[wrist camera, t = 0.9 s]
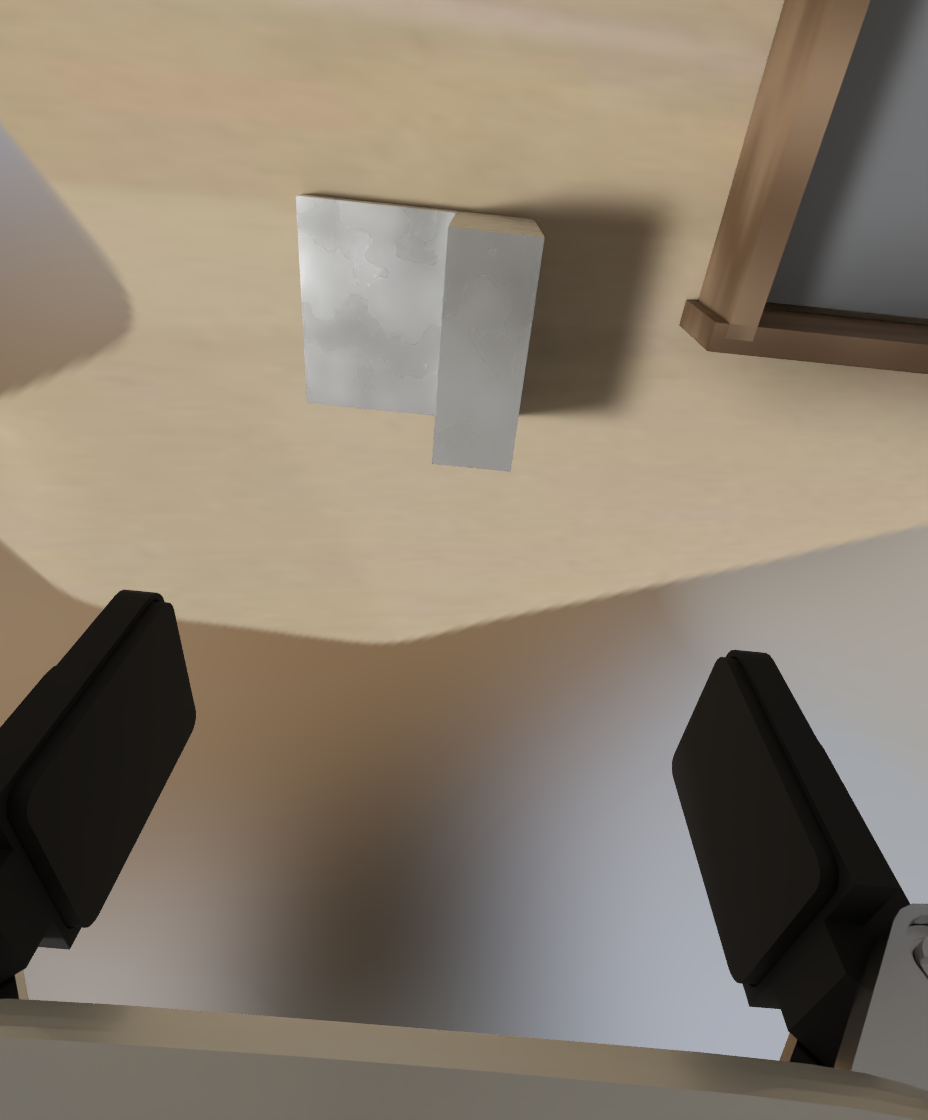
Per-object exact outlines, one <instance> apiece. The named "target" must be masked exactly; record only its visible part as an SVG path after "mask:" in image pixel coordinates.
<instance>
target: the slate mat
mask: <svg viewBox="0 0 928 1120" xmlns="http://www.w3.org/2000/svg"><path fill="white" fill-rule="evenodd" d="M766 302H771V303H781V304H790V305H799V306H809V307H818V308H828V309H837V310H847V311H856V312H866V313H875V314H885V315H894V316H904V317H913V318H922V319H928V0H870V3H869V6H868V9H867V12H866V15H865V18H864V21H863V23H862V26H861V29H860V32H859V35H858V38H857V41H856V44H855V47H854V49H853V52H852V55H851V58H850V61H849V64H848V67H847V70H846V73H845V75H844V78H843V81H842V84H841V87H840V90H839V93H838V96H837V99H836V101H835V104H834V107H833V110H832V113H831V116H830V119H829V122H828V125H827V127H826V130H825V133H824V136H823V139H822V142H821V145H820V148H819V151H818V154H817V156H816V159H815V162H814V165H813V168H812V171H811V174H810V177H809V180H808V182H807V185H806V188H805V191H804V194H803V197H802V200H801V203H800V206H799V208H798V211H797V214H796V217H795V220H794V223H793V226H792V229H791V232H790V234H789V237H788V240H787V243H786V246H785V249H784V252H783V255H782V258H781V260H780V263H779V266H778V269H777V272H776V275H775V278H774V281H773V284H772V286H771V289H770V292H769V295H768V298H767V301H766Z"/></svg>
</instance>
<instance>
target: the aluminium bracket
mask: <svg viewBox="0 0 928 1120" xmlns="http://www.w3.org/2000/svg"><path fill="white" fill-rule="evenodd" d="M296 208H297V226H298V244H299V263H300V281H301V300H302V318H303V337H304V355H305V373H306V392H307V403H313V404H323V405H333V406H343V407H353V408H363V409H373V410H383V411H393V412H403V413H413V414H423V415H433V416H435V428H434V443H433V457H432V464H439V465H449V466H459V467H469V468H479V469H489V470H499V471H510V470H511V464H512V457H513V450H514V443H515V436H516V429H517V423H518V416H519V409H520V402H521V395H522V389H523V382H524V375H525V368H526V361H527V355H528V348H529V341H530V334H531V327H532V321H533V314H534V307H535V300H536V293H537V286H538V280H539V273H540V266H541V259H542V252H543V246H544V239H545V237H544V235H543V233H542V232H541V230H540V229H539V227H538V225H537V224H536V222H535V221H534V219H529V218H520V217H510V216H501V215H492V214H482V213H473V212H464V211H455V210H445V209H436V208H427V207H417V206H408V205H399V204H390V203H380V202H371V201H362V200H353V199H343V198H334V197H325V196H315V195H306V194H300V195H296Z"/></svg>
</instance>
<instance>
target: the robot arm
mask: <svg viewBox="0 0 928 1120" xmlns="http://www.w3.org/2000/svg"><path fill="white" fill-rule="evenodd" d="M195 719H196V710H195V705H194V701H193V696H192V692H191V687H190V682H189V677H188V673H187V668H186V664H185V659H184V654H183V650H182V645H181V640H180V636H179V631H178V627H177V622H176V617H175V612H174V609H173V606H172V605H171V603H166V602H164V599H163V597H162V596H161V595H160V594H158V593H153V592H142V591H132V590H122V591H120V592H119V593H117V594H116V595H115V596H114V598H113V599H112V600H111V601H110V602H109V604H108V605H107V606H106V607H105V608H104V610H103V611H102V612H101V613H100V614H99V615H98V617H97V618H96V619H95V620H94V621H93V623H92V624H91V625H90V626H89V627H88V629H87V630H86V631H85V632H84V633H83V635H82V636H81V637H80V638H79V639H78V641H77V642H76V643H75V644H74V645H73V646H72V648H71V649H70V650H69V651H68V653H67V654H66V655H65V656H64V657H63V658H62V660H61V661H60V662H59V663H58V664H57V665H56V666H54V667H53V668H52V669H51V670H49V671H48V672H47V673H46V674H45V675H44V676H43V678H42V679H41V680H40V681H39V682H38V684H37V685H36V686H35V687H34V688H33V689H32V691H31V692H30V693H29V694H28V695H27V697H26V698H25V699H24V700H23V701H22V702H21V704H20V705H19V706H18V707H17V708H16V710H15V711H14V712H13V713H12V714H11V715H10V717H9V718H8V719H7V720H6V721H5V723H4V724H3V725H2V726H1V727H0V1120H928V904H910V903H909V901H908V899H907V898H906V896H905V894H904V892H903V890H902V888H901V887H900V885H899V883H898V881H897V880H896V878H895V876H894V874H893V872H892V871H891V869H890V867H889V865H888V864H887V861H886V860H885V858H884V856H883V854H882V853H881V851H880V849H879V847H878V845H877V844H876V842H875V840H874V838H873V836H872V835H871V833H870V831H869V829H868V827H867V826H866V824H865V822H864V820H863V818H862V817H861V815H860V813H859V811H858V809H857V808H856V806H855V804H854V802H853V801H852V799H851V797H850V795H849V793H848V791H847V790H846V788H845V786H844V784H843V782H842V781H841V779H840V777H839V775H838V774H837V772H836V770H835V768H834V766H833V764H832V763H831V761H830V759H829V757H828V755H827V754H826V752H825V750H824V748H823V747H822V745H821V744H820V743H819V741H818V740H817V738H816V736H815V735H814V733H813V731H812V729H811V727H810V725H809V724H808V722H807V720H806V718H805V716H804V715H803V713H802V711H801V709H800V707H799V706H798V704H797V702H796V700H795V699H794V697H793V695H792V693H791V691H790V689H789V688H788V686H787V684H786V682H785V680H784V679H783V677H782V675H781V673H780V671H779V670H778V668H777V666H776V664H775V662H774V660H773V659H772V658H771V656H770V655H768V654H767V653H761V652H750V651H740V650H731V651H730V652H729V653H728V654H727V656H726V657H720V658H719V659H717V661H716V663H715V665H714V667H713V669H712V672H711V674H710V676H709V678H708V680H707V683H706V685H705V687H704V689H703V691H702V694H701V696H700V698H699V701H698V703H697V705H696V707H695V709H694V711H693V714H692V716H691V718H690V721H689V723H688V725H687V727H686V729H685V732H684V734H683V736H682V738H681V740H680V743H679V745H678V747H677V749H676V752H675V754H674V757H673V761H672V774H673V778H674V782H675V785H676V788H677V792H678V796H679V799H680V802H681V806H682V809H683V813H684V816H685V819H686V823H687V826H688V829H689V833H690V837H691V840H692V844H693V847H694V850H695V854H696V857H697V861H698V864H699V867H700V871H701V874H702V878H703V881H704V885H705V888H706V891H707V895H708V898H709V902H710V905H711V909H712V912H713V916H714V919H715V923H716V926H717V930H718V933H719V936H720V940H721V943H722V946H723V950H724V954H725V957H726V960H727V964H728V967H729V970H730V973H731V975H732V977H733V978H734V980H735V981H736V982H737V983H743V986H744V990H745V993H746V996H747V999H748V1003H749V1006H750V1007H762V1008H775V1009H781V1011H782V1014H783V1017H784V1020H785V1023H786V1026H787V1029H788V1031H789V1032H790V1034H789V1036H788V1039H787V1041H786V1044H785V1047H784V1049H783V1052H782V1055H781V1058H780V1060H779V1061H776V1060H766V1059H757V1058H747V1057H738V1056H729V1055H720V1054H710V1053H701V1052H690V1051H678V1050H667V1049H654V1048H643V1047H632V1046H621V1045H609V1044H598V1043H586V1042H574V1041H562V1040H551V1039H539V1038H528V1037H517V1036H505V1035H493V1034H481V1033H468V1032H455V1031H444V1030H432V1029H420V1028H408V1027H395V1026H383V1025H371V1024H359V1023H346V1022H333V1021H322V1020H309V1019H295V1018H283V1017H270V1016H257V1015H243V1014H230V1013H218V1012H205V1011H204V1012H203V1011H192V1010H179V1009H165V1008H152V1007H140V1006H127V1005H109V1004H92V1003H74V1002H57V1001H40V1000H29V998H28V993H27V987H26V982H25V976H24V971H23V970H24V969H25V968H26V967H27V965H28V964H29V962H30V960H31V958H32V956H33V955H34V953H35V951H36V949H37V948H38V947H47V948H60V949H70V948H71V946H72V944H73V942H74V940H75V938H76V937H77V934H78V933H79V931H80V929H81V927H83V928H86V927H89V926H90V925H91V924H92V923H93V922H94V921H95V920H96V918H97V916H98V915H99V913H100V911H101V909H102V907H103V905H104V903H105V901H106V899H107V897H108V895H109V893H110V891H111V889H112V887H113V886H114V884H115V882H116V880H117V878H118V876H119V874H120V872H121V870H122V868H123V866H124V864H125V862H126V860H127V858H128V856H129V854H130V852H131V850H132V848H133V846H134V844H135V843H136V841H137V839H138V837H139V834H140V833H141V831H142V829H143V827H144V825H145V823H146V821H147V819H148V817H149V815H150V813H151V811H152V809H153V807H154V805H155V803H156V802H157V799H158V798H159V796H160V794H161V792H162V790H163V788H164V786H165V784H166V782H167V780H168V778H169V776H170V774H171V772H172V770H173V768H174V766H175V764H176V762H177V760H178V758H179V757H180V755H181V752H182V751H183V749H184V747H185V745H186V743H187V741H188V739H189V737H190V735H191V733H192V731H193V728H194V725H195Z"/></svg>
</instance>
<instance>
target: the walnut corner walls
mask: <svg viewBox="0 0 928 1120" xmlns="http://www.w3.org/2000/svg"><path fill="white" fill-rule="evenodd" d="M869 3H870V0H785V1H784V5H783V8H782V12H781V15H780V19H779V22H778V26H777V29H776V33H775V36H774V40H773V43H772V47H771V50H770V54H769V57H768V61H767V64H766V67H765V71H764V74H763V78H762V81H761V85H760V88H759V92H758V95H757V99H756V102H755V106H754V109H753V113H752V116H751V120H750V123H749V127H748V130H747V134H746V137H745V141H744V144H743V148H742V151H741V154H740V158H739V161H738V165H737V168H736V172H735V175H734V179H733V182H732V186H731V189H730V193H729V196H728V200H727V203H726V207H725V210H724V214H723V217H722V221H721V224H720V228H719V231H718V235H717V238H716V242H715V245H714V248H713V252H712V255H711V259H710V262H709V266H708V269H707V273H706V276H705V280H704V283H703V287H702V290H701V294H700V297H699V301H692V300H686V303H685V307H684V310H683V314H682V318H681V321H680V326H681V327H682V328H683V329H684V330H685V331H686V332H687V333H688V334H689V335H691V336H692V337H693V338H694V339H695V340H696V341H697V342H698V343H699V344H700V345H701V346H702V347H703V348H705V349H706V350H707V351H711V352H720V353H730V354H740V355H749V356H759V357H769V358H778V359H788V360H798V361H807V362H817V363H826V364H836V365H846V366H855V367H865V368H875V369H884V370H894V371H904V372H913V373H923V374H928V325H919V324H910V323H900V322H891V321H881V320H872V319H862V318H853V317H844V316H834V315H825V314H815V313H806V312H796V311H787V310H777V309H768V308H764V307H765V304H766V301H767V298H768V295H769V292H770V289H771V286H772V284H773V281H774V278H775V275H776V272H777V269H778V266H779V263H780V260H781V258H782V255H783V252H784V249H785V246H786V243H787V240H788V237H789V234H790V232H791V229H792V226H793V223H794V220H795V217H796V214H797V211H798V208H799V206H800V203H801V200H802V197H803V194H804V191H805V188H806V185H807V182H808V180H809V177H810V174H811V171H812V168H813V165H814V162H815V159H816V156H817V154H818V151H819V148H820V145H821V142H822V139H823V136H824V133H825V130H826V127H827V125H828V122H829V119H830V116H831V113H832V110H833V107H834V104H835V101H836V99H837V96H838V93H839V90H840V87H841V84H842V81H843V78H844V75H845V73H846V70H847V67H848V64H849V61H850V58H851V55H852V52H853V49H854V47H855V44H856V41H857V38H858V35H859V32H860V29H861V26H862V23H863V21H864V18H865V15H866V12H867V9H868V6H869Z"/></svg>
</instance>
